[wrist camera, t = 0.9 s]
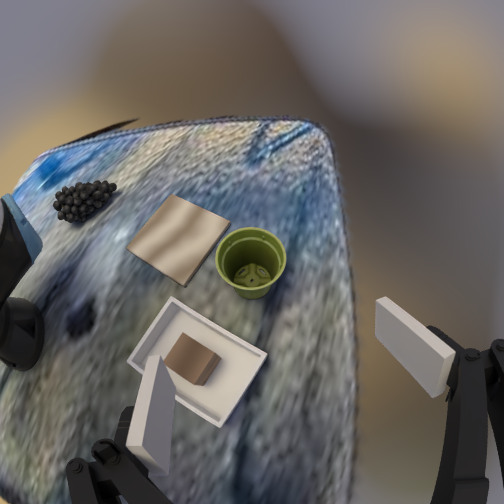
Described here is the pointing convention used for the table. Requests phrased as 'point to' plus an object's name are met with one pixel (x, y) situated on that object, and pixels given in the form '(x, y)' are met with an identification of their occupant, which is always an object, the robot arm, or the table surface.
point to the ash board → (178, 238)
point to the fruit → (82, 199)
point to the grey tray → (214, 338)
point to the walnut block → (191, 360)
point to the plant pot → (250, 261)
